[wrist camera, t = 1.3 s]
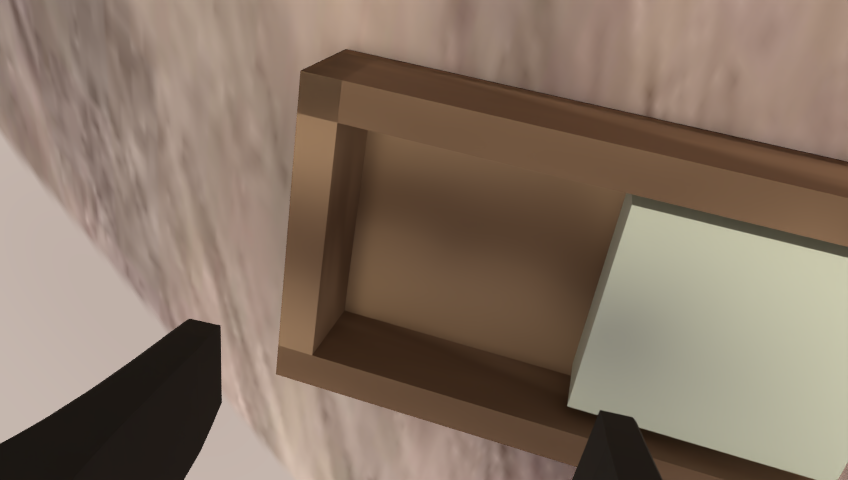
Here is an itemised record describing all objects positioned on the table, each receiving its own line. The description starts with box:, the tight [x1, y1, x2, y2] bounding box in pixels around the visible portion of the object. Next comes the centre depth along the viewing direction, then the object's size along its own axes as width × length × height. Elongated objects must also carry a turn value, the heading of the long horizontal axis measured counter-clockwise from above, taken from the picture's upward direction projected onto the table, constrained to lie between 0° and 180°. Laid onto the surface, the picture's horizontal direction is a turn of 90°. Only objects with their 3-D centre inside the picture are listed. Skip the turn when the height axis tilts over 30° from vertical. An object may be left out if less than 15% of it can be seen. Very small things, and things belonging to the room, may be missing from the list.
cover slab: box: [567, 193, 848, 480], centre depth 21 cm, size 7×8×2 cm
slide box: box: [276, 49, 848, 480], centre depth 22 cm, size 10×18×4 cm, turn 81°
